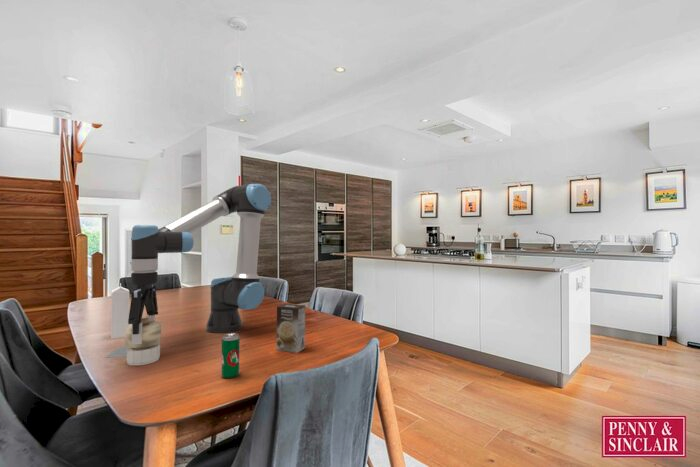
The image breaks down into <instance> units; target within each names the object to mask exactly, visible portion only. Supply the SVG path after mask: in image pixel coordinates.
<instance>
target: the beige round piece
mask: <svg viewBox="0 0 700 467" xmlns="http://www.w3.org/2000/svg"><path fill="white" fill-rule="evenodd" d="M141 323H142V344H134V345H132V324H129V325H127V326H126V337H125V344H124V346H126V347H128V348H142V347H148V346H153V345H156V344H158V343H159V344H160V343H161V342H162V322H161V321H156V320H155V321H149V318H146V317H142V319H141Z"/></svg>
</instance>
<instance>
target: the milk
mask: <svg viewBox="0 0 700 467" xmlns="http://www.w3.org/2000/svg"><path fill="white" fill-rule="evenodd" d="M110 292H111V294H110V299H111V301H110V302H111V303H110V339H111V340H113V339H119V338H120V339H121V338H126V326H127V325H130V324H128V319H129V312H130V290H129V289H128V288H125V287H123V286H122V283H121V282H119V286H117V287H116V288H114V289H112V290H111V291H110Z"/></svg>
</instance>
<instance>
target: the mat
mask: <svg viewBox="0 0 700 467" xmlns="http://www.w3.org/2000/svg"><path fill="white" fill-rule="evenodd" d="M127 348H128V347H126V346H125V345H122V346H119V347H118V348H116V349H115V350H114V351H112V352H110V353H109V354H108V355H106V356H104V359H107V358H122V357H123V358H124V357H126V358H127Z"/></svg>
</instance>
